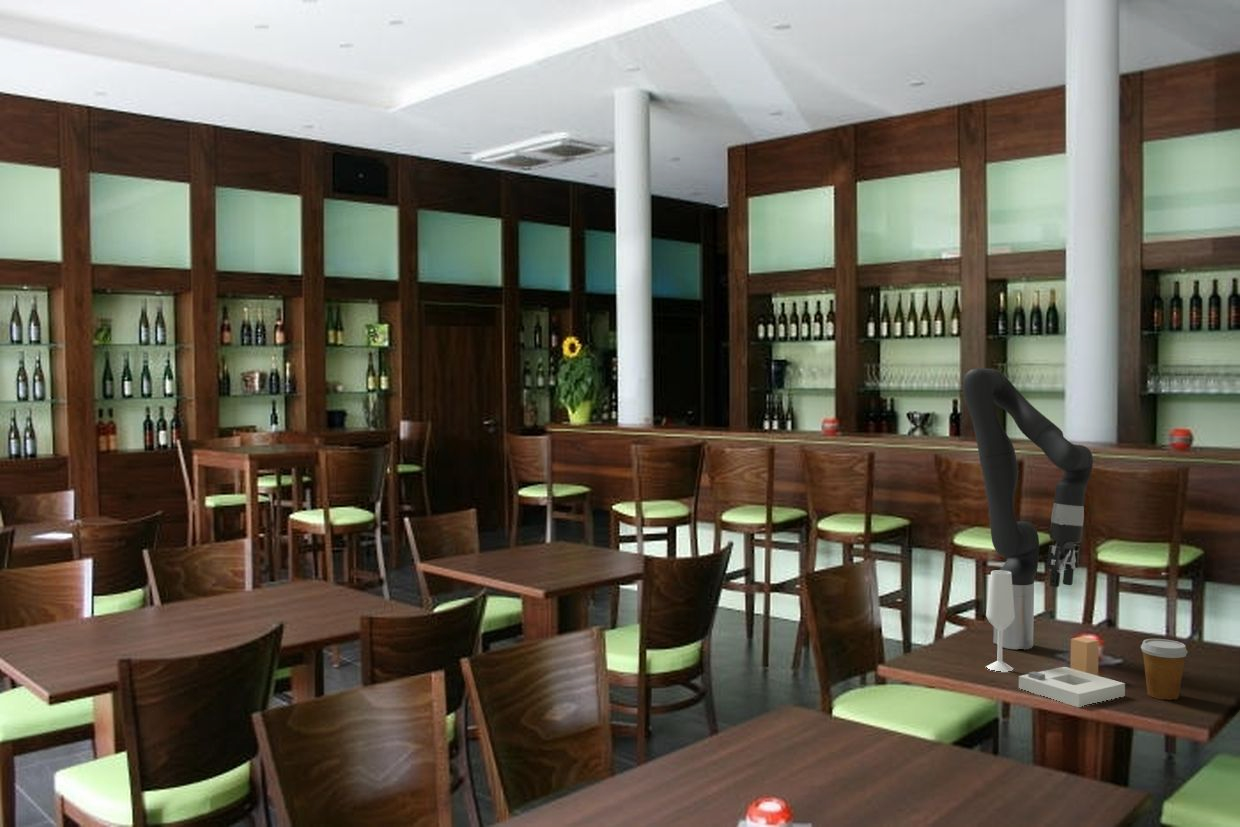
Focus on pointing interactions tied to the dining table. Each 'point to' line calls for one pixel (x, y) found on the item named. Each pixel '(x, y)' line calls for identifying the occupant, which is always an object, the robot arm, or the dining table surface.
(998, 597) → the champagne flute
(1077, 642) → the light brown rectangular block
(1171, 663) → the disposable coffee cup
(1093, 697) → the socket plate
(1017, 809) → the dining table surface
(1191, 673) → the dining table surface
